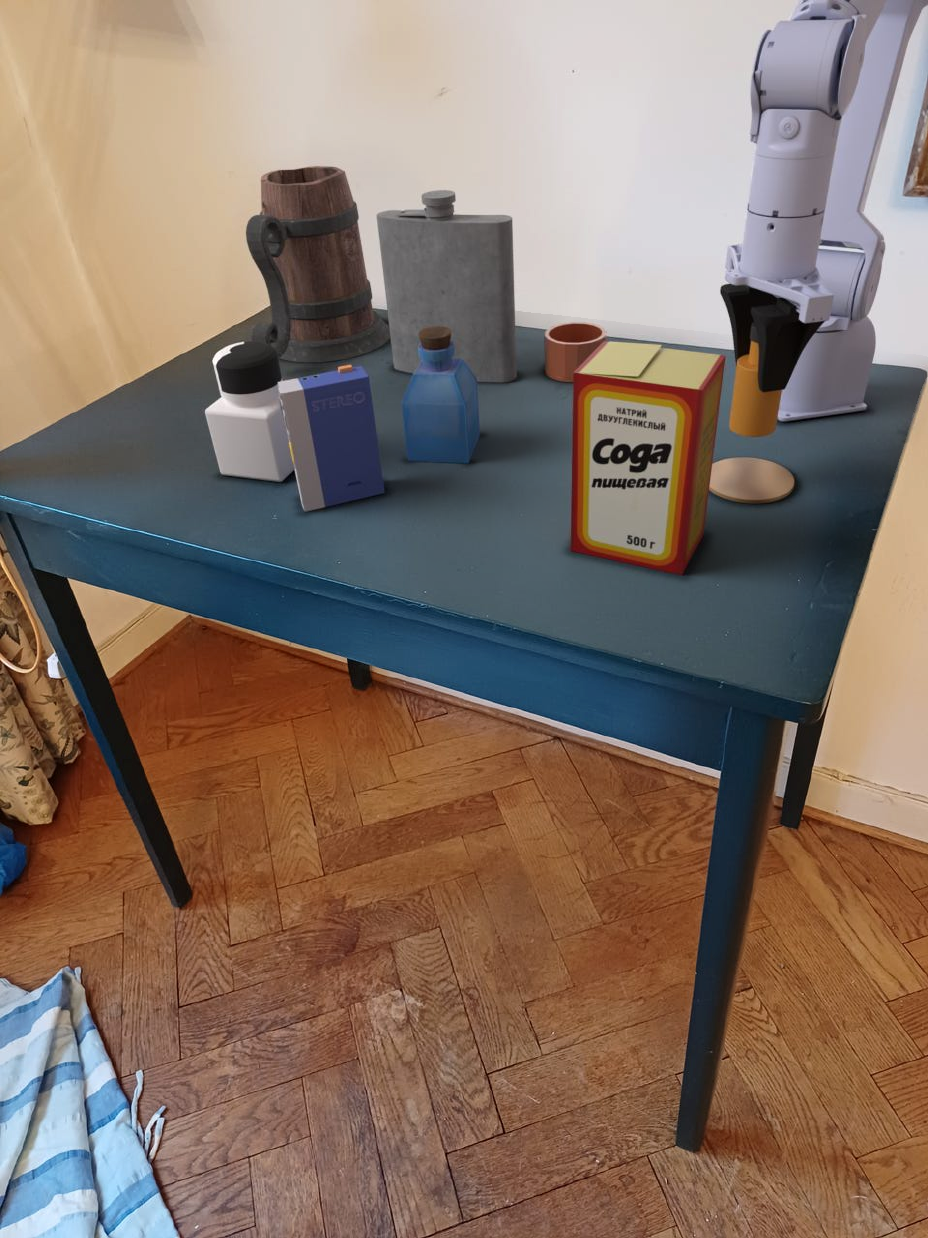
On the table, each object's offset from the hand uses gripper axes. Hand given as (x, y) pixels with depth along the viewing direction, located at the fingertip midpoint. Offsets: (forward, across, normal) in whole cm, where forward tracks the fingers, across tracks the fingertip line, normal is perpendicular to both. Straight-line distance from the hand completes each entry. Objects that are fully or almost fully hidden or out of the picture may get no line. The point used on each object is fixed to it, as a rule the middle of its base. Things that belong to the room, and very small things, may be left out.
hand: (760, 378), depth 76 cm
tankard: (+10, -48, -38) cm, 62 cm away
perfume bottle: (+10, -15, -26) cm, 31 cm away
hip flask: (+10, -34, -22) cm, 41 cm away
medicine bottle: (+10, -16, -44) cm, 48 cm away
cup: (+10, -30, -8) cm, 32 cm away
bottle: (+4, 0, 0) cm, 5 cm away
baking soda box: (+10, +7, -13) cm, 18 cm away
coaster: (+10, 0, 0) cm, 10 cm away
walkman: (+10, -8, -37) cm, 39 cm away
